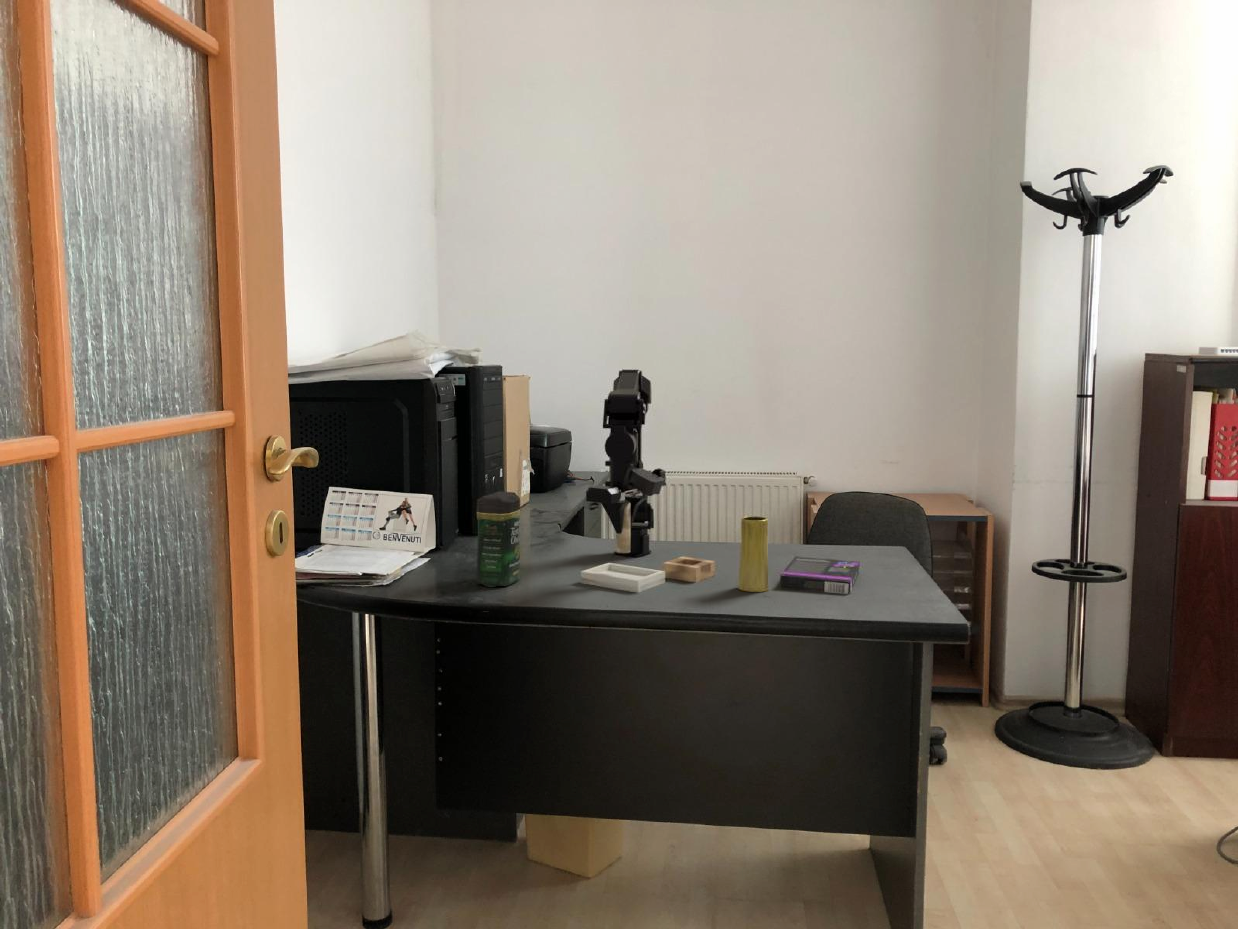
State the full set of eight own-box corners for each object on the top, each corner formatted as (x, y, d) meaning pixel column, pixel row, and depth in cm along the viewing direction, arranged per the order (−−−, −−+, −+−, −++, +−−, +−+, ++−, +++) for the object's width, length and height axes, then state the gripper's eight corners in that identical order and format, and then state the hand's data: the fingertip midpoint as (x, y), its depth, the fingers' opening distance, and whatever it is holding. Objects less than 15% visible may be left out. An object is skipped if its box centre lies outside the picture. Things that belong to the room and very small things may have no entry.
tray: (580, 583, 202) (580, 571, 201) (608, 573, 210) (608, 562, 210) (638, 592, 194) (638, 580, 194) (665, 582, 202) (665, 571, 202)
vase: (732, 586, 199) (733, 516, 198) (759, 584, 202) (760, 515, 200) (746, 593, 194) (748, 521, 192) (774, 591, 196) (776, 520, 194)
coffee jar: (507, 589, 196) (506, 496, 194) (471, 586, 199) (470, 495, 196) (526, 578, 205) (525, 490, 203) (491, 575, 208) (490, 488, 206)
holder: (662, 577, 207) (662, 563, 207) (682, 570, 214) (682, 556, 213) (696, 582, 203) (696, 568, 202) (714, 575, 209) (715, 561, 209)
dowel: (613, 552, 201) (614, 503, 200) (621, 549, 203) (621, 501, 202) (625, 553, 199) (625, 504, 198) (633, 551, 202) (633, 502, 200)
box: (849, 599, 194) (860, 575, 212) (850, 581, 193) (861, 559, 211) (778, 591, 198) (795, 569, 217) (779, 574, 198) (795, 553, 216)
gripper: (631, 463, 187) (631, 544, 189) (681, 454, 202) (680, 529, 204) (583, 459, 193) (583, 537, 195) (636, 450, 208) (635, 523, 210)
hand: (623, 532), depth 201 cm, fingers closed on dowel, 3 cm apart
